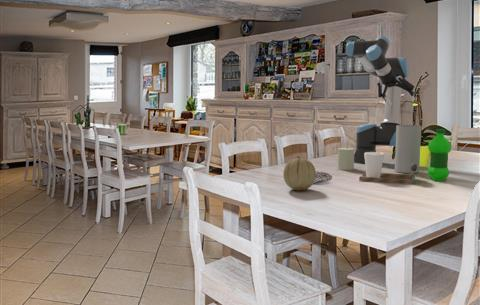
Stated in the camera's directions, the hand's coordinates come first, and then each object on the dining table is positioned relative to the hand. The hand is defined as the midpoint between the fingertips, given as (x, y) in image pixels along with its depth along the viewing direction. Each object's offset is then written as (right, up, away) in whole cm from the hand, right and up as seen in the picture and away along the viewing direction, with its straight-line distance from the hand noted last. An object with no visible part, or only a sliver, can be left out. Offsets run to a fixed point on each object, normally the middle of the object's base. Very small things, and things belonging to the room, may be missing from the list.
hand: (402, 102), depth 247 cm
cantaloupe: (-62, -44, -43) cm, 87 cm away
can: (-29, -37, +9) cm, 47 cm away
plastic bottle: (+10, -41, -23) cm, 48 cm away
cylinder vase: (+2, -38, -1) cm, 38 cm away
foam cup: (-21, -41, -20) cm, 50 cm away
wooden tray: (-15, -41, -22) cm, 49 cm away
